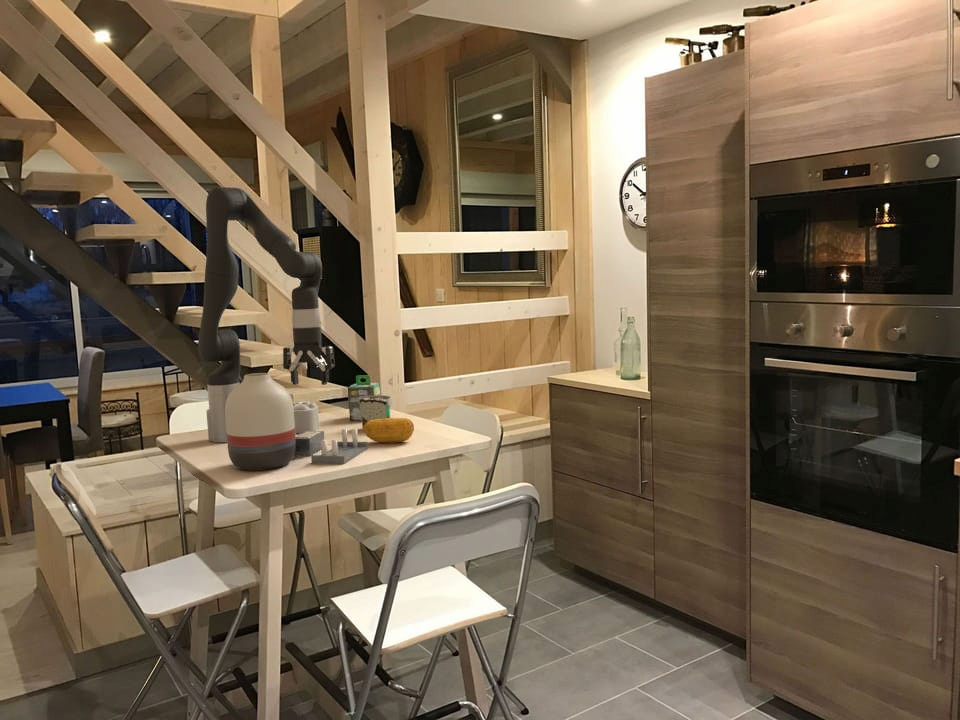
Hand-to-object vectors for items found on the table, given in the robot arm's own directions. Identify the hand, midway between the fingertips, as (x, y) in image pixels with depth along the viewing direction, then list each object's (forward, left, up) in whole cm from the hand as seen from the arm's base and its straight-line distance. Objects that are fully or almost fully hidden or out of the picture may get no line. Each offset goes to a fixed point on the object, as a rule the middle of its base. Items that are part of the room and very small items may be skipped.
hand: (310, 384), depth 213 cm
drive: (-1, -2, -19) cm, 19 cm away
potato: (+18, +11, -19) cm, 29 cm away
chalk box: (-3, +47, -19) cm, 51 cm away
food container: (+8, +31, -19) cm, 38 cm away
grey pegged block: (+10, -6, -19) cm, 22 cm away
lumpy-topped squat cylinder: (-17, +28, -19) cm, 38 cm away
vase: (-7, -17, -19) cm, 26 cm away
